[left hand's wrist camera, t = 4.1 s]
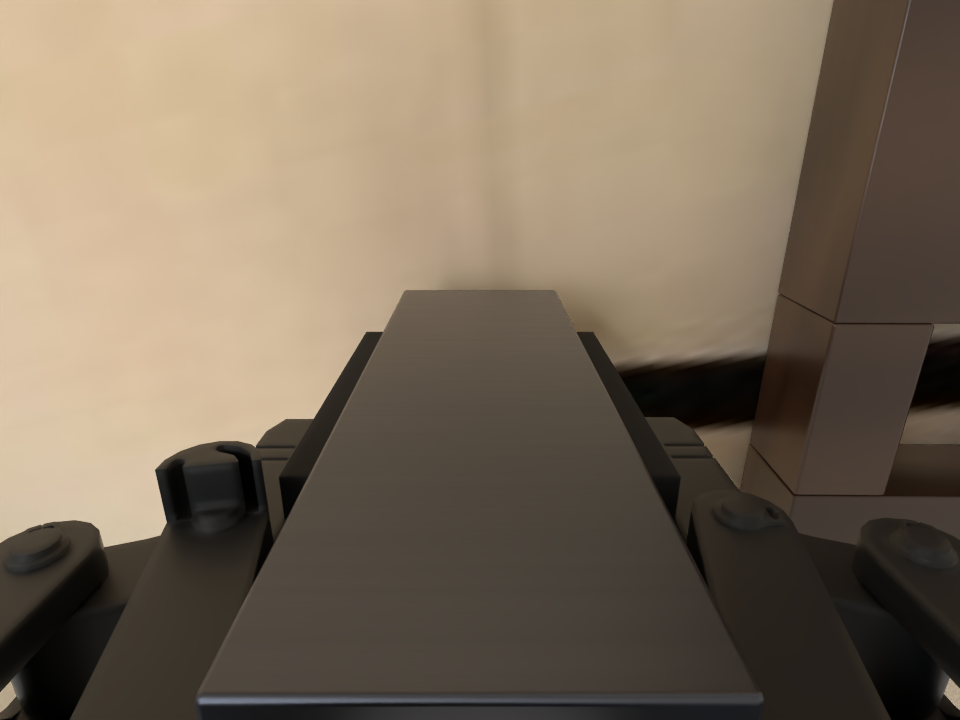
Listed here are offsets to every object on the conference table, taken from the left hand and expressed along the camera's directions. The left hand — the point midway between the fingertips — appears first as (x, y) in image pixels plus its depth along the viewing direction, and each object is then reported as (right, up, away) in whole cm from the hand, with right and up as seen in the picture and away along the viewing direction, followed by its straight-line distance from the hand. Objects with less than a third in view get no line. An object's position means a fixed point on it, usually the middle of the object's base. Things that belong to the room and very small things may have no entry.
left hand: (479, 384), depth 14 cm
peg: (0, +1, +2) cm, 2 cm away
